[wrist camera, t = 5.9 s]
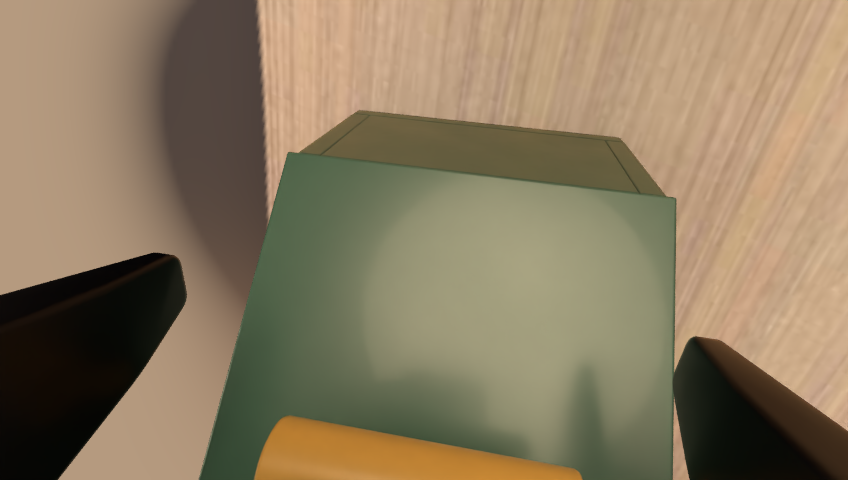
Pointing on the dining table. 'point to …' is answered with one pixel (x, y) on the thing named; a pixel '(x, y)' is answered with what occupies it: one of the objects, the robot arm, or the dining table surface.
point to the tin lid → (452, 331)
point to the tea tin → (487, 151)
